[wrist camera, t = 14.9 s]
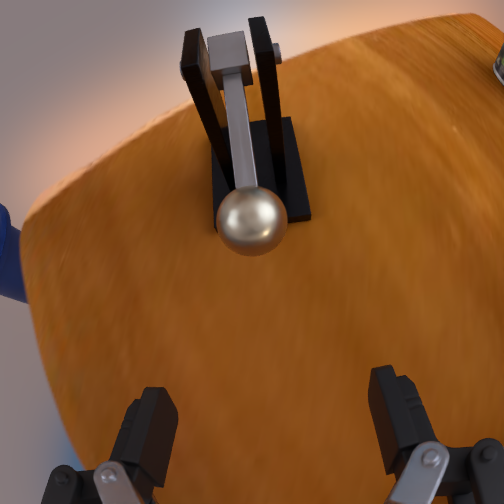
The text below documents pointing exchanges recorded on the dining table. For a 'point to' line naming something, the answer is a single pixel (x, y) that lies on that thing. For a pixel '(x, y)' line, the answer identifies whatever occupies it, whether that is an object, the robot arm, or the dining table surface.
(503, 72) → the coffee can
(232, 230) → the switch lever
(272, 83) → the switch bracket
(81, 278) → the dining table surface
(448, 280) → the dining table surface
